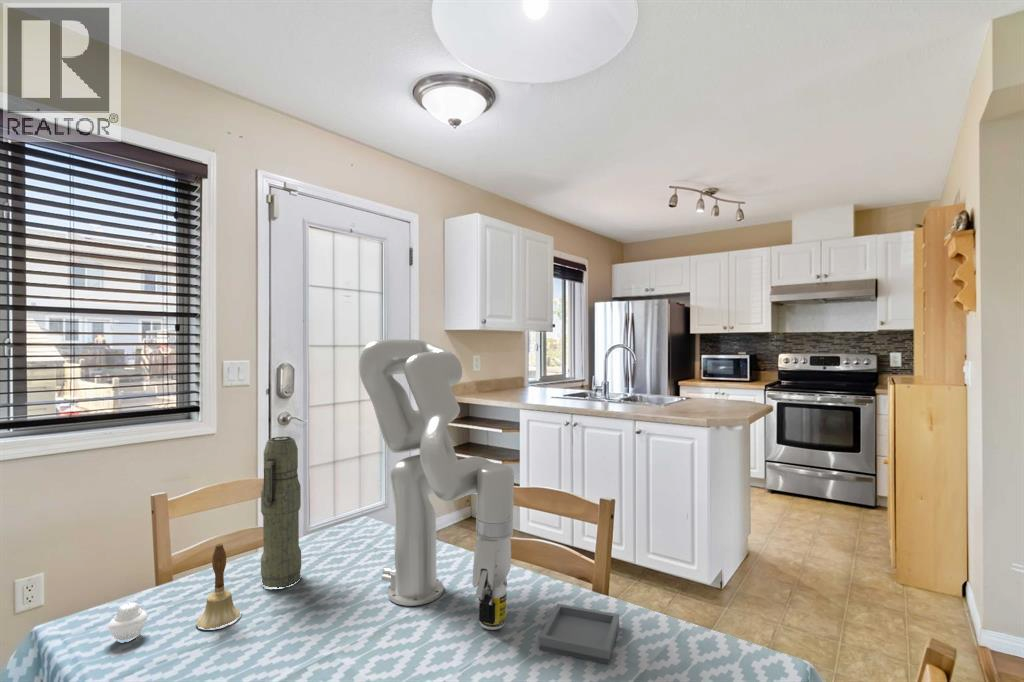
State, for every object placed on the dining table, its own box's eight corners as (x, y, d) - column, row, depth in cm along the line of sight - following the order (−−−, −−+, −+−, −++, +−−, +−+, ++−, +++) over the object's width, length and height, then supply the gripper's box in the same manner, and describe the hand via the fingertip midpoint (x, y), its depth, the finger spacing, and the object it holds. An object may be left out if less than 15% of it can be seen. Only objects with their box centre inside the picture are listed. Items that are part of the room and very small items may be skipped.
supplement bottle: (502, 632, 100) (503, 583, 100) (476, 628, 101) (477, 580, 101) (508, 617, 106) (509, 571, 105) (483, 614, 107) (484, 568, 107)
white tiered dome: (114, 634, 101) (114, 599, 101) (151, 627, 104) (150, 593, 104) (103, 651, 96) (103, 614, 96) (142, 643, 98) (142, 607, 98)
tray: (539, 650, 95) (539, 636, 95) (557, 615, 107) (557, 603, 107) (608, 664, 91) (608, 650, 91) (619, 626, 103) (619, 614, 103)
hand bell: (250, 615, 108) (250, 540, 108) (213, 635, 101) (213, 555, 101) (224, 606, 112) (224, 534, 112) (186, 626, 104) (186, 548, 104)
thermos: (309, 570, 129) (308, 433, 130) (289, 593, 118) (288, 442, 118) (274, 570, 129) (274, 434, 130) (251, 593, 118) (250, 443, 118)
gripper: (493, 510, 113) (492, 591, 113) (459, 538, 96) (457, 633, 97) (525, 514, 110) (523, 597, 110) (495, 545, 94) (494, 642, 94)
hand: (493, 613), depth 103 cm, fingers closed on supplement bottle, 5 cm apart
